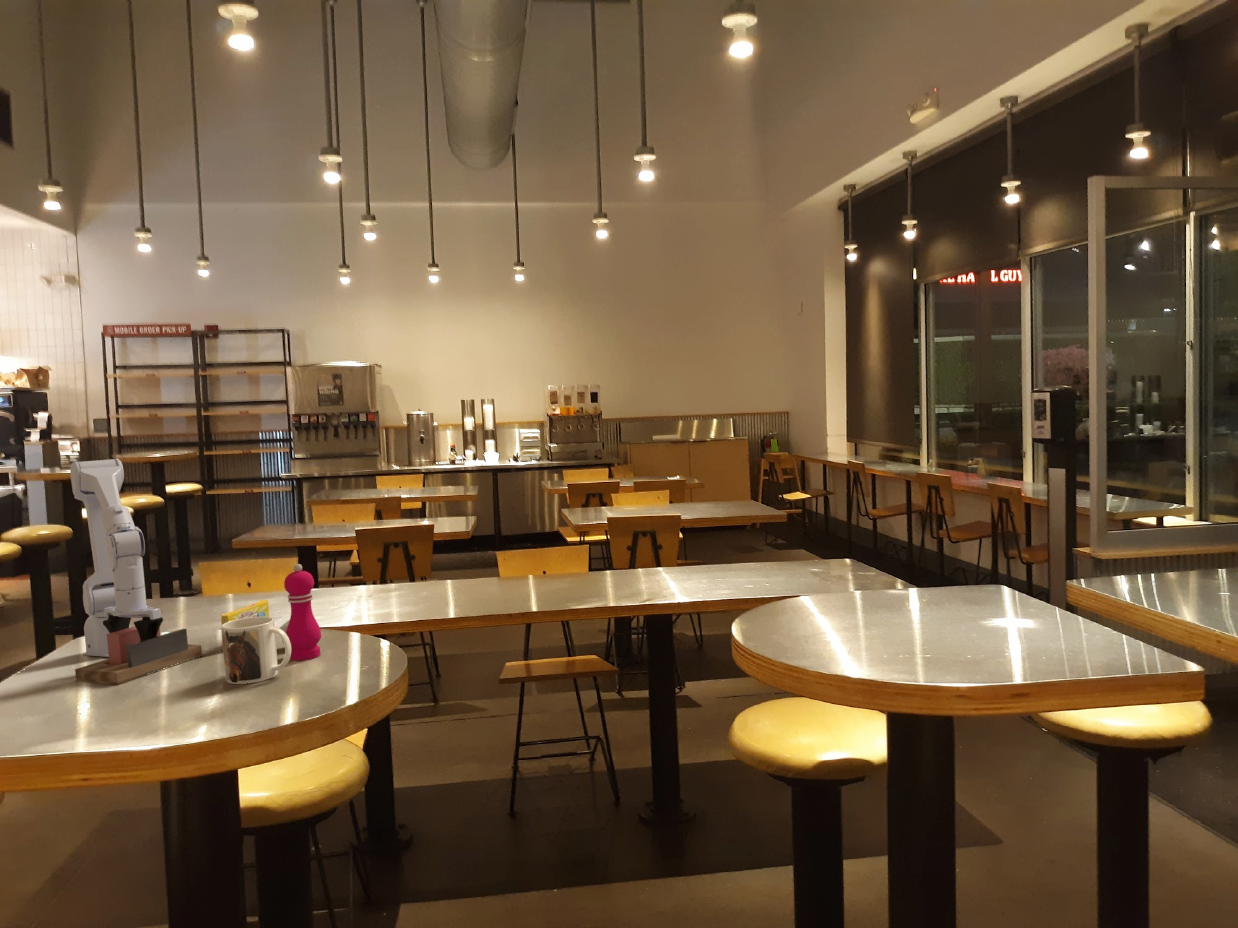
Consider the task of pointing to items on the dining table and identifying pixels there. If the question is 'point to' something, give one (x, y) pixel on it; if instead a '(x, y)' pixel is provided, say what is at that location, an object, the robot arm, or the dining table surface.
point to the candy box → (247, 612)
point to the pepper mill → (302, 616)
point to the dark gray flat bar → (157, 647)
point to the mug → (252, 649)
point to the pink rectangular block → (122, 644)
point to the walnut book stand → (123, 673)
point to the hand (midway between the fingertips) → (135, 651)
